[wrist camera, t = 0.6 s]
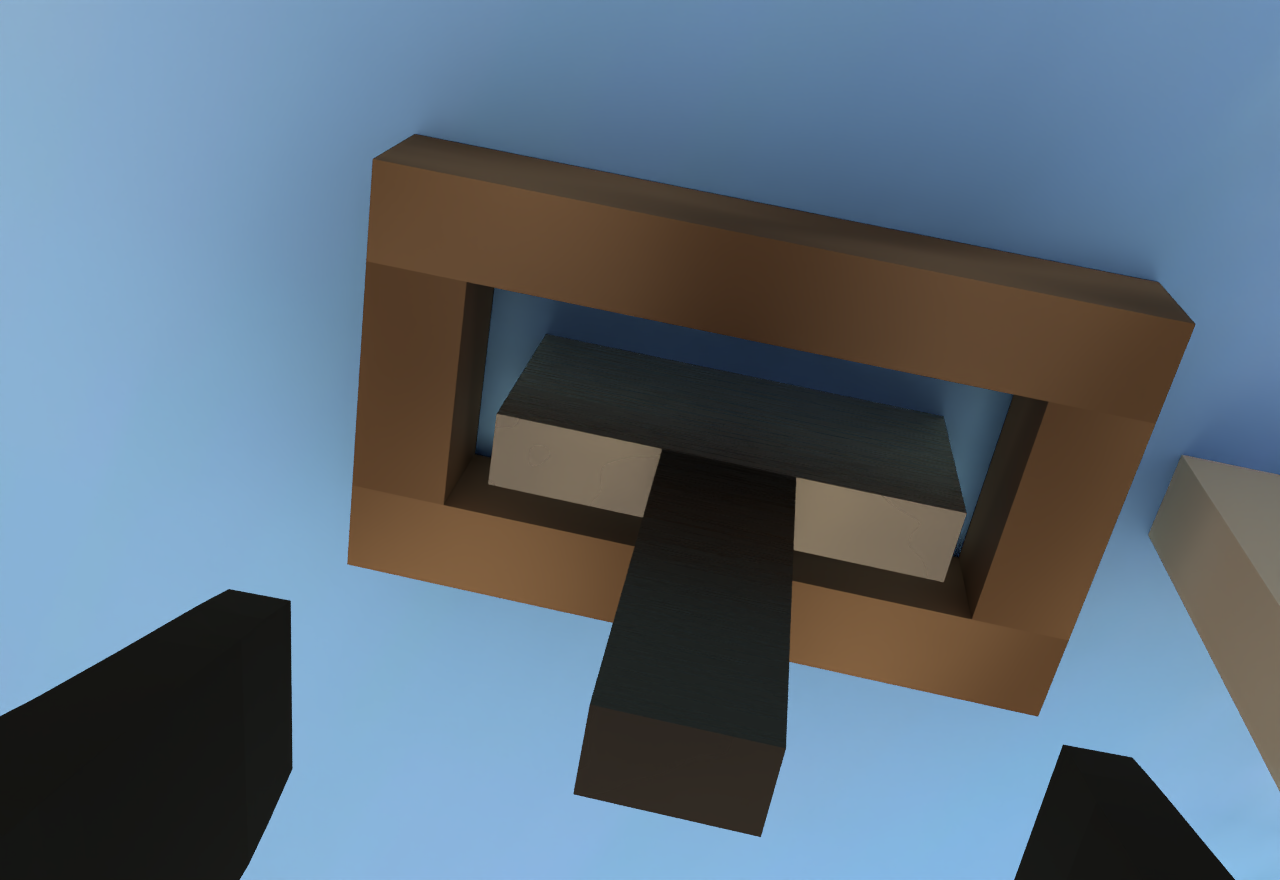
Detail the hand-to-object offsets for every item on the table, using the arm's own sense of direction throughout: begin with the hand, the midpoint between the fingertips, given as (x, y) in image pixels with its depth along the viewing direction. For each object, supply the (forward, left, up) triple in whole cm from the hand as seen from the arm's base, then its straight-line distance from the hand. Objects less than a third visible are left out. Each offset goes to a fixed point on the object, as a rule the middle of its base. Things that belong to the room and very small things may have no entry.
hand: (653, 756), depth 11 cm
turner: (0, +1, -10) cm, 10 cm away
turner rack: (0, +1, -10) cm, 10 cm away
